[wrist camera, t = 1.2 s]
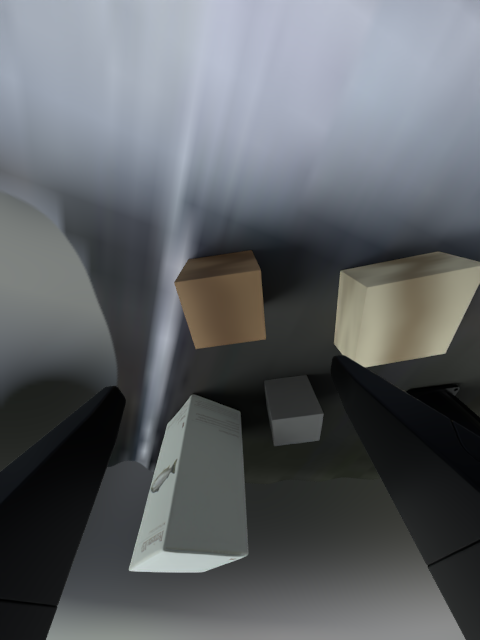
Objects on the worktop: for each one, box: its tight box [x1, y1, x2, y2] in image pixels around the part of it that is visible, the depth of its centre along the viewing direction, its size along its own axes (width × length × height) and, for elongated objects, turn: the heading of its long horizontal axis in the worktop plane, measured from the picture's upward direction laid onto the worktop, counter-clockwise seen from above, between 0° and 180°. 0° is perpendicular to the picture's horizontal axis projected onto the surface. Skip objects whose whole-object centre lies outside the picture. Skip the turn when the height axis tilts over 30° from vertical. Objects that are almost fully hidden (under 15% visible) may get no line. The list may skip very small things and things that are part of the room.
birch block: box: [334, 251, 480, 367], centre depth 17 cm, size 8×8×4 cm
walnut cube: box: [174, 250, 266, 349], centre depth 15 cm, size 5×5×5 cm
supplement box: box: [129, 394, 248, 572], centre depth 21 cm, size 7×7×13 cm
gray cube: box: [264, 375, 324, 446], centre depth 23 cm, size 5×5×5 cm
